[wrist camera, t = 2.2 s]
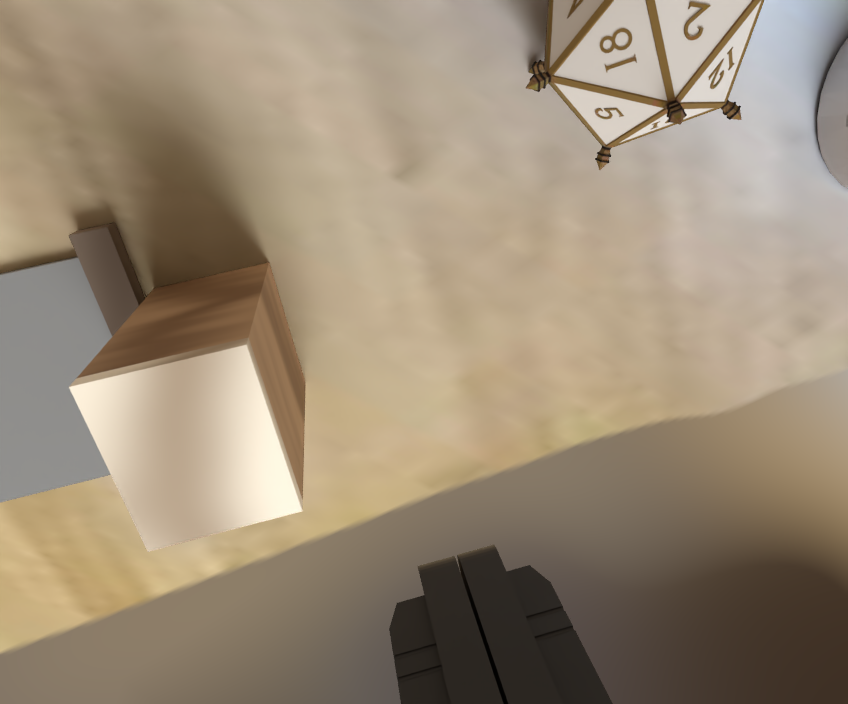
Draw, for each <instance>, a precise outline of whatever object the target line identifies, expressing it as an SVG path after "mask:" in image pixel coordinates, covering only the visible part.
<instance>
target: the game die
mask: <svg viewBox="0 0 848 704" xmlns="http://www.w3.org/2000/svg"><path fill="white" fill-rule="evenodd" d="M763 2H764V0H548V14H547V30H546V45H545V61H541V60H540V61H539V62H534V64H533V65H532V68H531V69H530V71H529V73H532V74H534V75H533V76H532V77H531V78H530V82H529V84H528V85H527V87H526V88H527V89H533V90H535V91H538V92H539V91H540V89H541V88H545V87H546V85H547V84H548V83H549V84H550V85H551V87H552V88H553V89H554V90H555V91H556V92H557V94H558V95H559V96H560V97H561V98H562V99H563V101H564V102H565V103H566V104H567V105H568V106H569V108H570V109H571V110H572V111H573V112H574V113H575V115H576V116H577V117H578V118H579V119H580V120H581V122H582V123H583V124H584V125H585V126H586V128H587V129H588V130H589V131H590V132H591V133H592V135H593V136H594V137H595V138H596V139H597V140H598V142H599V143H600V144H601V145H602V148H601V150H600V151H599V152H597V154H598V156H597V158H595V160H597V163H598V167H599V170H601V169H602V168H603V167H604V166H605V165H606V164H607V163H609V157H611V155H610V149H611V148H612V147H615V146H618V145H620V144H623V143H626V142H629V141H631V140H634V139H637V138H640V137H642V136H645V135H648V134H651V133H653V132H656V131H659V130H662V129H664V128H667V127H670V126H672V125H675V124H681V123H682V122H683V121H686V120H689V119H692V118H694V117H697V116H700V115H703V114H705V113H708V112H711V111H714V110H716V109H719V108H721V109H722V110H723V114H724V115H727V118H728V119H738V120H741V114H740V107H741V106H737V105H736V102H734V103H732V102H730V101H728V97H729V95H730V92H731V89H732V86H733V84H734V81H735V78H736V76H737V73H738V70H739V67H740V65H741V62H742V59H743V57H744V54H745V51H746V48H747V46H748V43H749V40H750V38H751V35H752V32H753V29H754V27H755V24H756V21H757V19H758V16H759V13H760V10H761V8H762V5H763Z"/></svg>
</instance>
